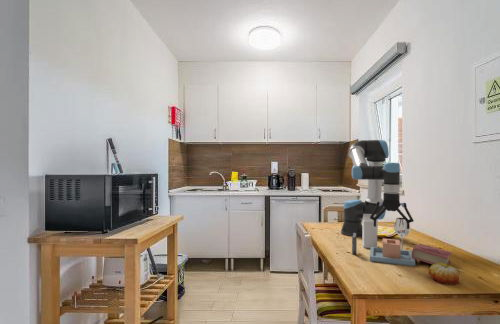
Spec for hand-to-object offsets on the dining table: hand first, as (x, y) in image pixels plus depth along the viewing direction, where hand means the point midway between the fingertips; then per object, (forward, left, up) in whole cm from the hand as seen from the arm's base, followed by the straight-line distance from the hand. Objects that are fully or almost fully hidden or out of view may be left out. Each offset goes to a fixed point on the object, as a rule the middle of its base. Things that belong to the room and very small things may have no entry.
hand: (391, 234), depth 164 cm
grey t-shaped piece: (0, -18, -12) cm, 22 cm away
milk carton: (-20, -11, -12) cm, 26 cm away
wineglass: (-17, +6, -12) cm, 22 cm away
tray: (0, 0, -12) cm, 12 cm away
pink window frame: (0, 0, -12) cm, 12 cm away
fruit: (+26, +19, -13) cm, 35 cm away
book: (+1, +17, -11) cm, 21 cm away
